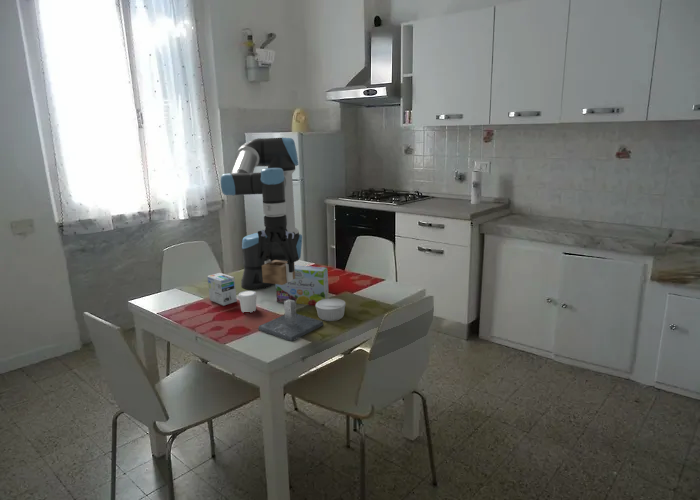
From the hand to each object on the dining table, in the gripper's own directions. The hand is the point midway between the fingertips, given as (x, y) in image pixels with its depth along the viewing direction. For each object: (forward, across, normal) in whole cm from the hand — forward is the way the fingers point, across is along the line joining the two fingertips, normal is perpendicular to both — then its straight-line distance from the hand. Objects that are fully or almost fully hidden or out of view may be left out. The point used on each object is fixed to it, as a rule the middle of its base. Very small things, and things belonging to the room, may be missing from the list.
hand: (279, 279), depth 166 cm
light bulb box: (+18, -38, +13) cm, 44 cm away
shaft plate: (+18, +3, +1) cm, 18 cm away
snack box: (+18, -6, +24) cm, 31 cm away
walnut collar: (0, 0, 0) cm, 0 cm away
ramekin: (+18, +12, +15) cm, 26 cm away
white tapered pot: (+18, -22, +9) cm, 29 cm away
